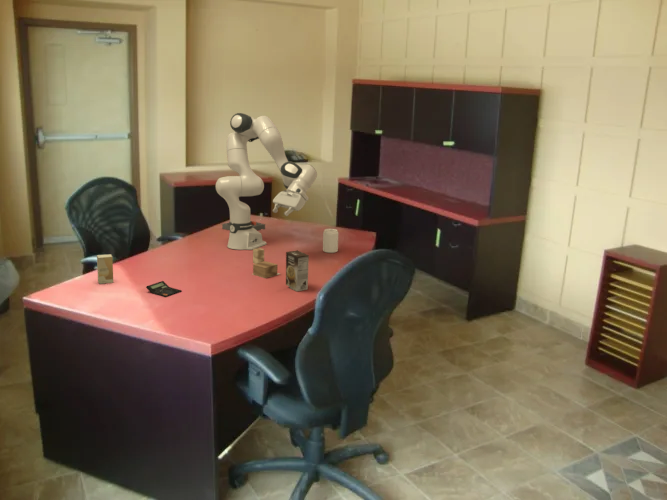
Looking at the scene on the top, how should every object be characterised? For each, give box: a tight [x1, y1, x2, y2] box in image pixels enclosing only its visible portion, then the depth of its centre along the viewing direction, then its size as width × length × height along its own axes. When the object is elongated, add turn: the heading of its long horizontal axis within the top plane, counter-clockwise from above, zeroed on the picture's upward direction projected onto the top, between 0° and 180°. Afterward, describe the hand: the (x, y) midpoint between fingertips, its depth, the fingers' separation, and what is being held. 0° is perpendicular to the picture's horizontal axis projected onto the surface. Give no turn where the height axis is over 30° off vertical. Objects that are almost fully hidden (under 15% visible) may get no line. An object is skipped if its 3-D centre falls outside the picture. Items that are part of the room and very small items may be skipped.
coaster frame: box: [221, 220, 266, 231], centre depth 389 cm, size 18×18×3 cm
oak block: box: [252, 247, 265, 264], centre depth 315 cm, size 4×4×8 cm
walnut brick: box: [252, 260, 278, 279], centre depth 297 cm, size 8×8×5 cm
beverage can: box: [322, 228, 339, 254], centre depth 343 cm, size 8×8×12 cm
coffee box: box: [285, 250, 310, 292], centre depth 281 cm, size 9×6×16 cm
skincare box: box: [96, 254, 114, 285], centre depth 281 cm, size 6×4×12 cm
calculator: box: [145, 280, 183, 298], centre depth 273 cm, size 9×12×3 cm
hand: (279, 213), depth 317 cm, fingers open, 8 cm apart
